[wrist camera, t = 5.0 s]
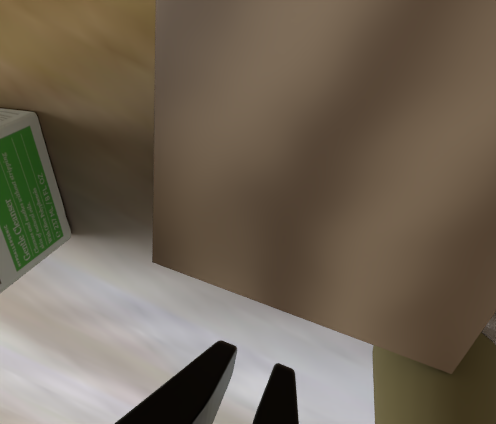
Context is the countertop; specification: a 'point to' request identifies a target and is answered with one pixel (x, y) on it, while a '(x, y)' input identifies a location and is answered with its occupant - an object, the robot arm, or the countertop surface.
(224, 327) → the countertop surface
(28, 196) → the skincare box
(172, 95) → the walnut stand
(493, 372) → the olive pestle
